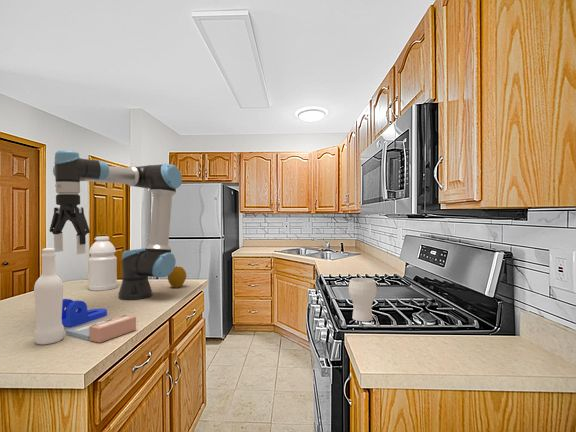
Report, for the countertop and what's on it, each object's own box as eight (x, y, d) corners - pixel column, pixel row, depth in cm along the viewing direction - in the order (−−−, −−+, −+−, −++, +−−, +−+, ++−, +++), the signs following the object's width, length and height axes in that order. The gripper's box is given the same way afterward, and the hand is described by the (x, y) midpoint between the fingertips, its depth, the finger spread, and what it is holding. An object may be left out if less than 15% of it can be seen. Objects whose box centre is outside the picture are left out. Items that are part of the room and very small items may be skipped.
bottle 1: (41, 347, 111) (40, 250, 111) (29, 342, 115) (28, 248, 115) (69, 339, 118) (68, 247, 117) (56, 334, 122) (55, 246, 122)
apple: (188, 285, 203) (187, 264, 203) (183, 289, 193) (183, 267, 193) (170, 285, 202) (170, 264, 202) (165, 289, 193) (165, 267, 192)
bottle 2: (121, 288, 196) (121, 236, 195) (94, 292, 185) (93, 237, 185) (110, 284, 205) (110, 235, 204) (84, 288, 194) (83, 236, 194)
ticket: (103, 323, 135) (103, 318, 135) (125, 328, 129) (125, 323, 129) (65, 334, 122) (65, 330, 122) (88, 340, 117) (88, 335, 117)
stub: (126, 327, 129) (126, 314, 129) (136, 329, 127) (135, 316, 127) (89, 340, 116) (89, 326, 116) (99, 342, 114) (99, 328, 114)
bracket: (70, 328, 130) (70, 303, 129) (54, 325, 133) (54, 301, 133) (111, 314, 146) (111, 292, 146) (96, 312, 149) (96, 290, 149)
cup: (345, 315, 145) (345, 277, 145) (371, 314, 146) (371, 277, 146) (352, 323, 134) (352, 283, 134) (380, 322, 135) (380, 282, 135)
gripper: (37, 194, 133) (39, 251, 134) (79, 193, 121) (80, 256, 122) (58, 194, 139) (60, 249, 140) (99, 193, 128) (101, 253, 129)
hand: (69, 252), depth 131 cm, fingers open, 13 cm apart
